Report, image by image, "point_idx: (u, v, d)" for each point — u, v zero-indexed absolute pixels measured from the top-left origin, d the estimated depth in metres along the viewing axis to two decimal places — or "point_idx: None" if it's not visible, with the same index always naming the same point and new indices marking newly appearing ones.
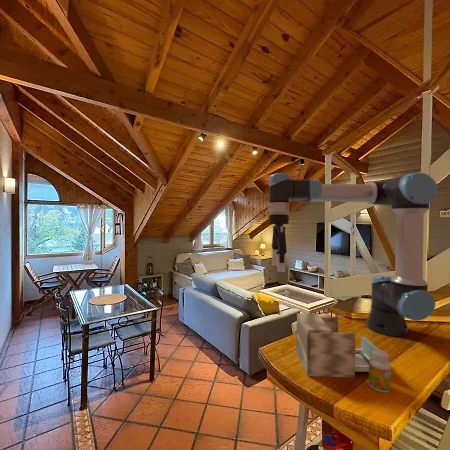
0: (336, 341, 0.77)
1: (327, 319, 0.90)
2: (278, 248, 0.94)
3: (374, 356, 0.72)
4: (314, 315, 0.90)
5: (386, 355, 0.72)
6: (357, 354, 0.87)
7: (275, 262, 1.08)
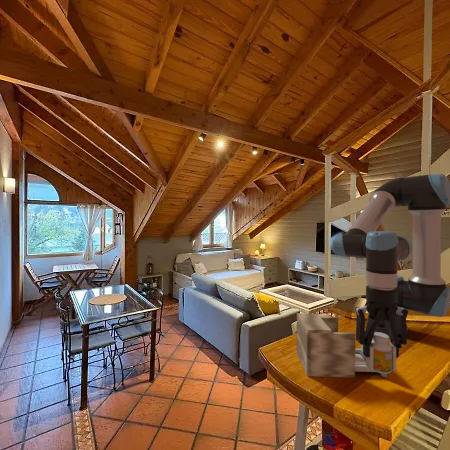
0: (336, 341, 0.77)
1: (327, 319, 0.90)
2: None
3: (375, 339, 0.73)
4: (314, 315, 0.90)
5: (387, 337, 0.72)
6: (357, 354, 0.87)
7: None
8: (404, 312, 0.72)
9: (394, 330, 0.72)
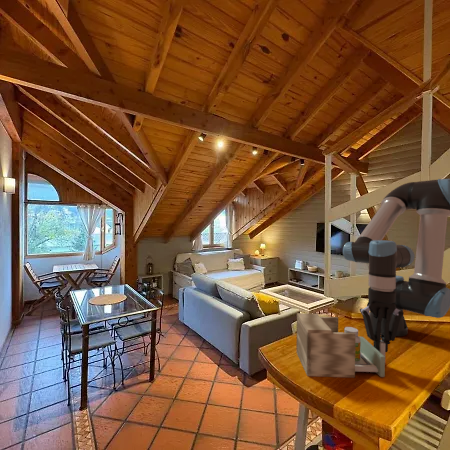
0: (336, 341, 0.77)
1: (327, 319, 0.90)
2: None
3: (356, 334, 0.82)
4: (314, 315, 0.90)
5: (354, 328, 0.85)
6: None
7: None
8: (400, 313, 0.82)
9: (387, 327, 0.82)
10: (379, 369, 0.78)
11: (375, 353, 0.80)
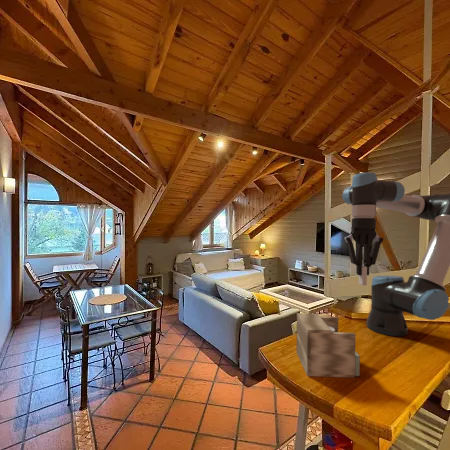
0: (336, 341, 0.77)
1: (327, 319, 0.90)
2: None
3: None
4: (314, 315, 0.90)
5: (331, 327, 0.85)
6: None
7: None
8: (380, 239, 0.90)
9: (369, 252, 0.90)
10: None
11: None
